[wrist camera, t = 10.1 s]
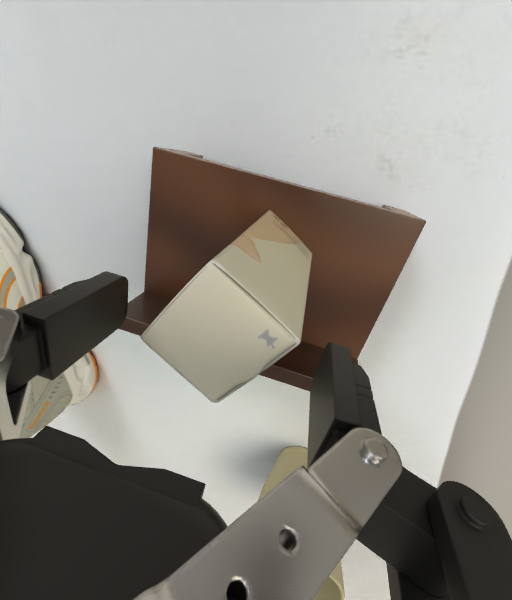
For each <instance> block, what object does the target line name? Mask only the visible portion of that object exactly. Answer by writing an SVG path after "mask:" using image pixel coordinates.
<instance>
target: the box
mask: <svg viewBox="0 0 512 600" xmlns="http://www.w3.org/2000/svg"><path fill="white" fill-rule="evenodd" d="M311 259H312V253H311V252H310V250H309V249H308V248H307V247H306V246H305V245H304V244H303V242H302V241H301V240H300V239H299V238H298V237H297V236H296V235H295V234H294V233H293V232H292V231H291V230H290V228H289V227H288V226H287V225H286V224H284V223H283V221H282V220H281V219H280V218H278V217H277V216H276V215H275V214H274V213H273V212H272V211H271V210H269V211H267V212H266V213H265V214H264V215H263V216H262V217H261V218H260V219H258V220H257V221H256V222H255V223H254V224H253V225H251V226H250V227H249V228H248V229H247V230H246V231H245V232H243V233H242V234H241V235H240V236H239V237H238V238H237V239H236V240H234V241H233V242H232V243H231V244H230V245H229V246H227V247H226V248H225V249H224V250H223V251H222V252H220V253H219V254H218V255H217V256H216V257H214V258H213V259H212V260H211V261H209V262H208V263H207V264H206V265H205V266H204V267H203V268H202V269H201V270H200V271H199V272H198V273H197V274H196V275H195V276H194V277H193V278H192V279H191V280H190V281H189V282H188V283H187V284H186V285H185V287H184V288H183V289H182V290H181V291H180V292H179V293H178V294H177V295H176V296H175V297H174V298H173V299H172V301H171V302H170V303H169V304H168V305H167V306H166V307H165V308H164V309H163V311H162V312H161V313H160V314H159V315H158V316H157V318H156V319H155V320H154V321H153V322H152V323H151V325H150V326H149V327H148V328H147V329H146V330H145V332H144V333H143V334H142V335H141V339H142V340H143V341H144V342H145V343H146V344H147V345H148V346H149V347H150V348H151V349H152V350H153V351H155V352H156V353H157V354H158V355H159V356H160V357H161V358H163V359H164V360H165V361H166V362H167V363H168V364H169V365H170V366H171V367H173V368H174V369H175V370H176V371H177V372H178V373H179V374H181V375H182V376H183V377H184V378H185V379H186V380H187V381H188V382H190V383H191V384H192V385H193V386H194V387H195V388H196V389H198V390H199V391H200V392H201V393H202V394H203V395H204V396H206V397H207V398H208V399H209V400H210V401H211V402H214V403H217V402H220V401H221V400H223V399H224V398H226V397H227V396H229V395H230V394H232V393H233V392H235V391H236V390H237V389H239V388H240V387H242V386H243V385H245V384H246V383H247V382H249V381H250V380H252V379H253V378H254V377H256V376H257V375H259V374H260V373H261V372H263V371H264V370H265V369H267V368H268V367H270V366H271V365H272V364H274V363H275V362H276V361H278V360H279V359H280V358H282V357H283V356H284V355H286V354H287V353H288V352H290V351H291V350H292V349H293V348H295V347H296V346H298V345H299V344H300V342H301V336H302V328H303V320H304V312H305V305H306V298H307V290H308V282H309V274H310V267H311Z"/></svg>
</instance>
